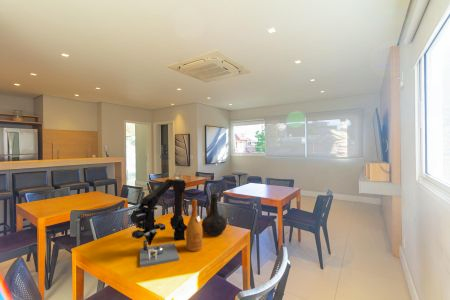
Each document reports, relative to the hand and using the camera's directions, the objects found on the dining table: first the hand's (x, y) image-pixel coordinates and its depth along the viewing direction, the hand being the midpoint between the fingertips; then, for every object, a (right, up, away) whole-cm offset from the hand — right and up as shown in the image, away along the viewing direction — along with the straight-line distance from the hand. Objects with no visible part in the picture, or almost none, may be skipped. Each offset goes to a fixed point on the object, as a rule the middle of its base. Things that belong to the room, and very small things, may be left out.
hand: (149, 244), depth 131 cm
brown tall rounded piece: (+25, -5, +6) cm, 26 cm away
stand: (+6, -5, -3) cm, 8 cm away
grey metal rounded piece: (+3, -3, -5) cm, 6 cm away
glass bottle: (+36, -4, +30) cm, 48 cm away
